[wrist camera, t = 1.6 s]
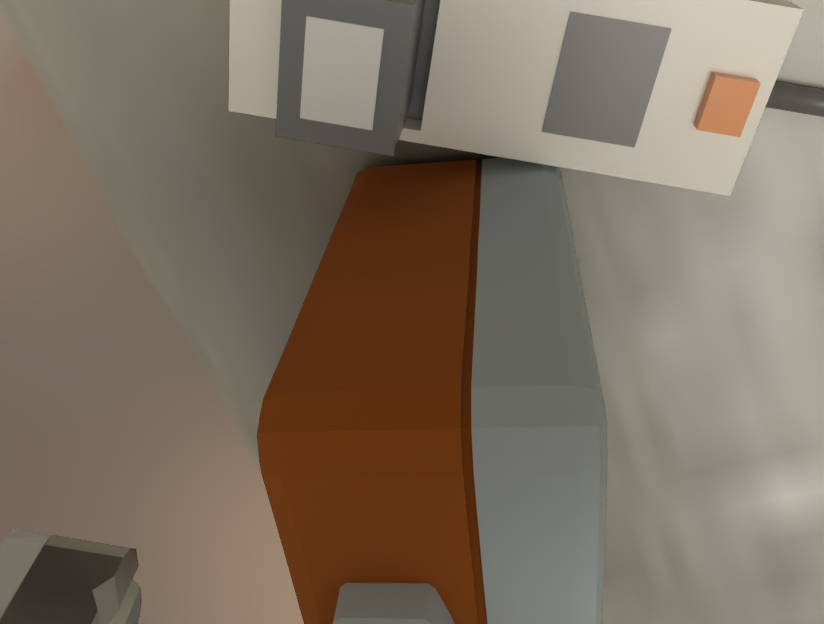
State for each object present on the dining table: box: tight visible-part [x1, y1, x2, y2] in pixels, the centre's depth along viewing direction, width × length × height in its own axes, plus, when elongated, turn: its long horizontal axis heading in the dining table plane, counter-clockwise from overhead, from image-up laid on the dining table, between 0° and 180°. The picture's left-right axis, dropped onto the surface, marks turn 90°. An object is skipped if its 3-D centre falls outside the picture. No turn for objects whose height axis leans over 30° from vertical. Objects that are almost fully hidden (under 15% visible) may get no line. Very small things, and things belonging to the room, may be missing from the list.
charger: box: [276, 0, 425, 156], centre depth 27 cm, size 5×4×6 cm
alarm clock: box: [257, 158, 608, 624], centre depth 29 cm, size 18×9×21 cm, turn 6°
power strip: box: [229, 0, 824, 196], centre depth 29 cm, size 7×28×4 cm, turn 82°
